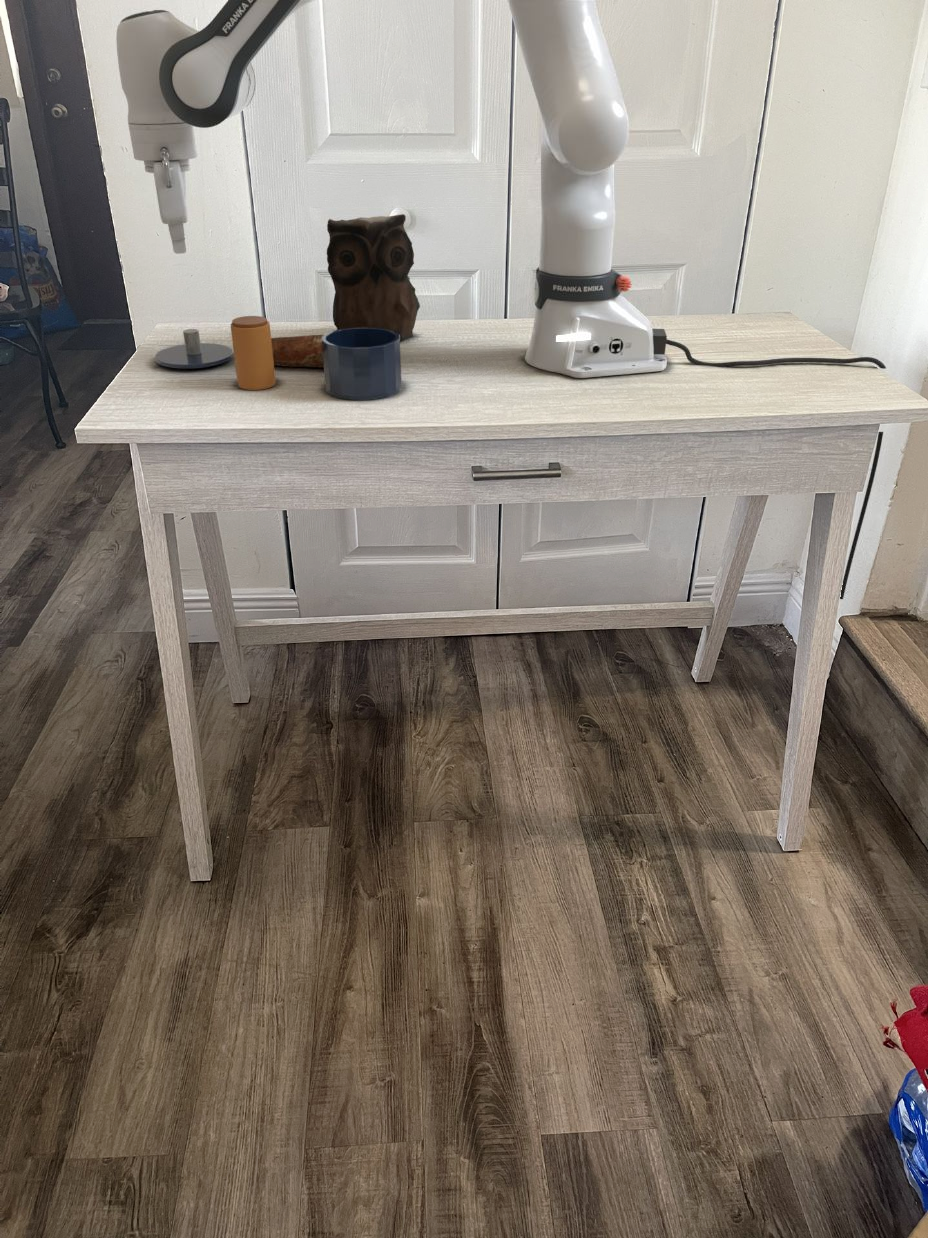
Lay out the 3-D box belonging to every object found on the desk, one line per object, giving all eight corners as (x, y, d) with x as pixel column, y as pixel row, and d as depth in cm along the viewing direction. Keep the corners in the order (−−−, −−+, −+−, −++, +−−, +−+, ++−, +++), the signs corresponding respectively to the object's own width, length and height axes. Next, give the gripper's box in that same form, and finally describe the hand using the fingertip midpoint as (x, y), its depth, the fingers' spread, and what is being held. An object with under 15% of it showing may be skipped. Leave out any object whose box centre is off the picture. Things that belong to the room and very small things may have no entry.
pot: (400, 375, 146) (398, 326, 142) (402, 399, 136) (400, 347, 132) (327, 377, 145) (323, 327, 141) (324, 401, 135) (320, 348, 131)
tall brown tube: (277, 378, 144) (270, 314, 139) (274, 389, 140) (267, 324, 135) (240, 378, 144) (232, 315, 139) (235, 390, 139) (227, 325, 134)
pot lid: (238, 349, 158) (234, 319, 155) (228, 371, 147) (224, 340, 145) (163, 350, 157) (158, 321, 154) (149, 373, 146) (143, 342, 144)
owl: (423, 335, 165) (420, 212, 154) (380, 353, 156) (375, 223, 145) (364, 325, 170) (358, 206, 160) (320, 342, 161) (310, 216, 151)
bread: (361, 374, 146) (359, 338, 143) (244, 368, 149) (239, 332, 146) (371, 362, 151) (369, 327, 148) (258, 356, 154) (254, 322, 151)
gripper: (187, 151, 128) (203, 258, 135) (185, 137, 144) (199, 234, 152) (139, 152, 126) (157, 261, 134) (142, 139, 143) (158, 236, 150)
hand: (179, 246), depth 143 cm, fingers open, 8 cm apart
